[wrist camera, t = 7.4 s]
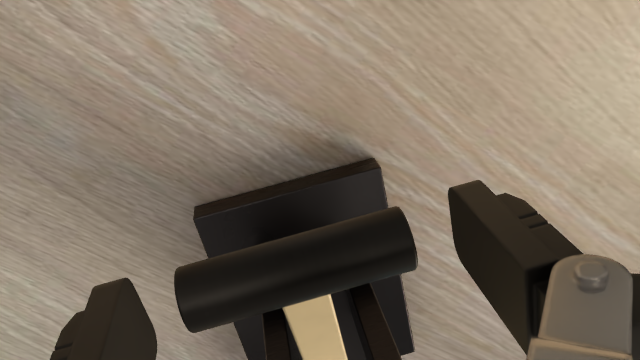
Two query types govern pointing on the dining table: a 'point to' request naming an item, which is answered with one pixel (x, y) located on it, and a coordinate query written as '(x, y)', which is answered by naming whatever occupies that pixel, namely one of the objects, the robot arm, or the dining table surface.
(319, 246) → the lever
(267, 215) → the bracket
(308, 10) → the dining table surface
